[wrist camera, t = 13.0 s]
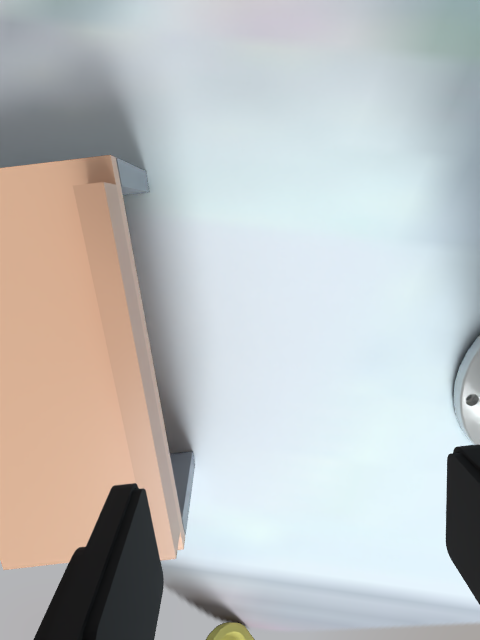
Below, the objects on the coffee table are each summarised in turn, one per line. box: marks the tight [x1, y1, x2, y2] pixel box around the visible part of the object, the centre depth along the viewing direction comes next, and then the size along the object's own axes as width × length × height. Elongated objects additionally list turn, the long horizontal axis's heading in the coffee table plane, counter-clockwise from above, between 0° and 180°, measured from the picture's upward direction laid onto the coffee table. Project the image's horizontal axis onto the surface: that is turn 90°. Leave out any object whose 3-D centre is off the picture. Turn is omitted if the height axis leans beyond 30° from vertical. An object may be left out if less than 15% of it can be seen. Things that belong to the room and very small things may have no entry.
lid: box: [0, 155, 185, 570], centre depth 19 cm, size 10×20×3 cm, turn 7°
